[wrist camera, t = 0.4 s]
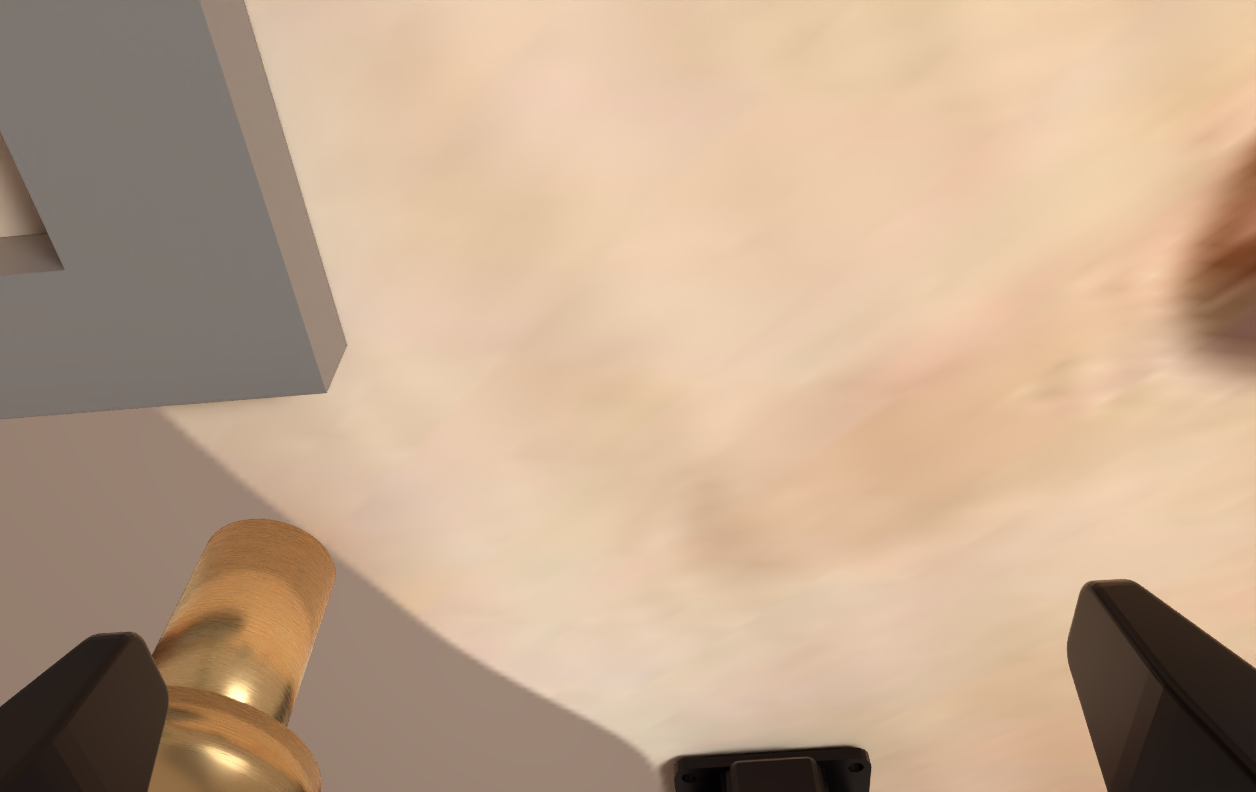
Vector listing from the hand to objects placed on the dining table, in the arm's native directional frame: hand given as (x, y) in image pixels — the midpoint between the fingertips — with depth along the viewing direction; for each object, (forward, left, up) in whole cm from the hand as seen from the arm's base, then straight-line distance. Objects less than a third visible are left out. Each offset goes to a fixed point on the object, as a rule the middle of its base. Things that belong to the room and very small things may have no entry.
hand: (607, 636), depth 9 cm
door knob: (-11, +11, -14) cm, 21 cm away
